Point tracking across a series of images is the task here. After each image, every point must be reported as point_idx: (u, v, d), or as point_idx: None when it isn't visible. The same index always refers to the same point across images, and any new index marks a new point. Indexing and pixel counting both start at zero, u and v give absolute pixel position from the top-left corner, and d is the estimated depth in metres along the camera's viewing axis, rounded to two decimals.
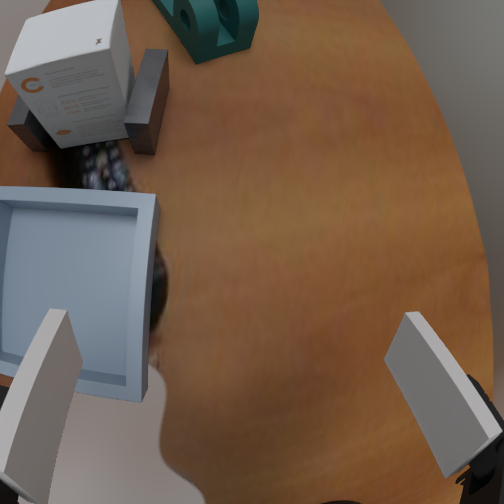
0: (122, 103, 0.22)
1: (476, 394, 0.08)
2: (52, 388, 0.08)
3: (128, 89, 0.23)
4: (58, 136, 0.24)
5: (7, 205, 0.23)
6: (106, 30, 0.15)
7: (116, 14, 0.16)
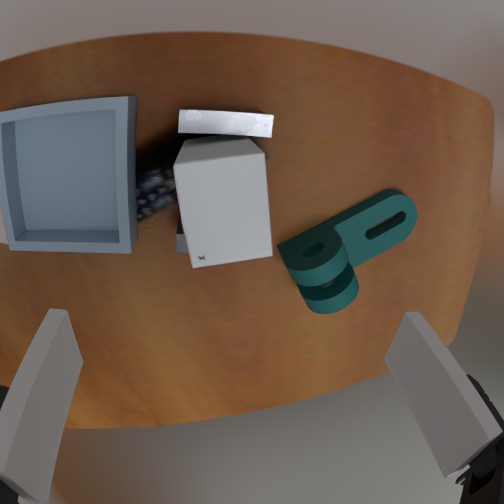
0: None
1: (475, 394, 0.08)
2: (52, 388, 0.08)
3: None
4: None
5: None
6: (216, 261, 0.24)
7: None
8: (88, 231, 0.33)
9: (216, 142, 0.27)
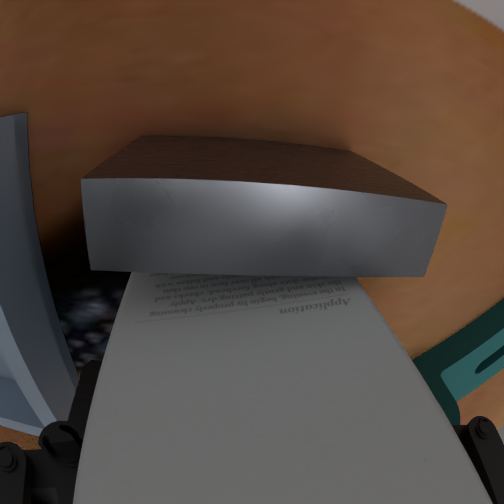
0: None
1: None
2: None
3: None
4: None
5: None
6: None
7: None
8: (0, 379, 0.14)
9: (243, 302, 0.07)
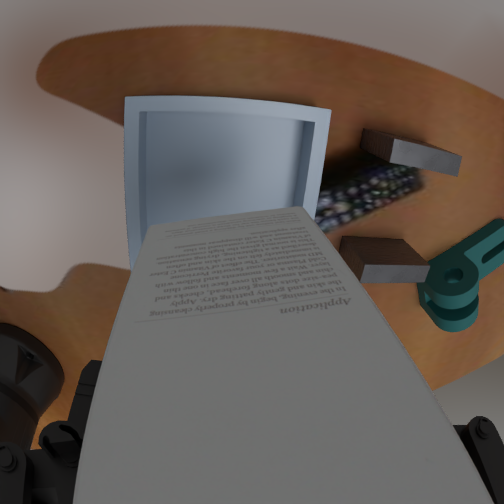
0: None
1: None
2: None
3: None
4: None
5: None
6: None
7: None
8: None
9: (243, 302, 0.07)
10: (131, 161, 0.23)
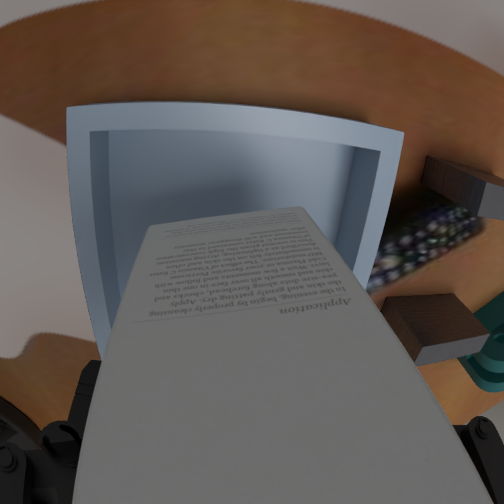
0: None
1: None
2: None
3: None
4: None
5: None
6: None
7: None
8: None
9: (242, 302, 0.07)
10: (83, 214, 0.14)
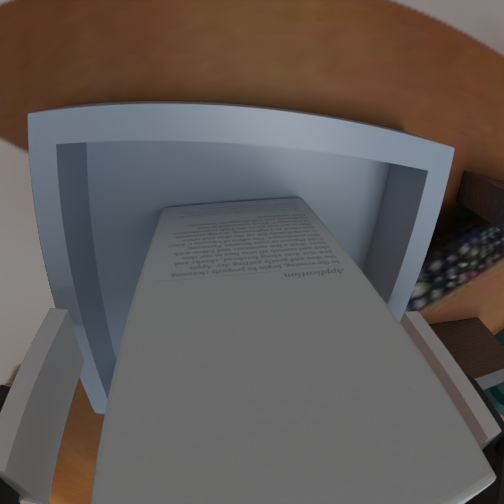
0: None
1: (475, 394, 0.08)
2: (53, 388, 0.08)
3: None
4: None
5: None
6: None
7: None
8: None
9: (252, 268, 0.09)
10: (55, 249, 0.11)
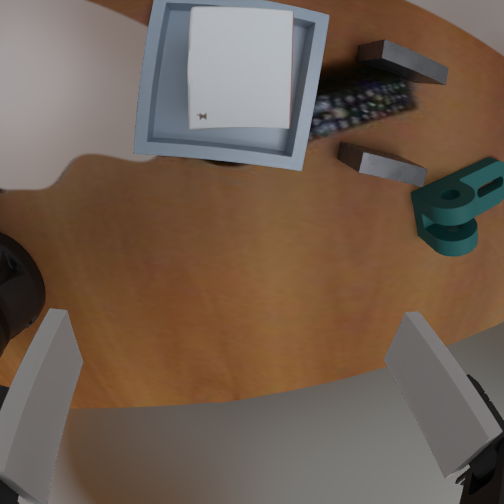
0: None
1: (475, 394, 0.08)
2: (52, 388, 0.08)
3: None
4: None
5: (309, 25, 0.25)
6: (219, 122, 0.18)
7: (253, 127, 0.19)
8: (241, 145, 0.31)
9: None
10: (153, 40, 0.23)
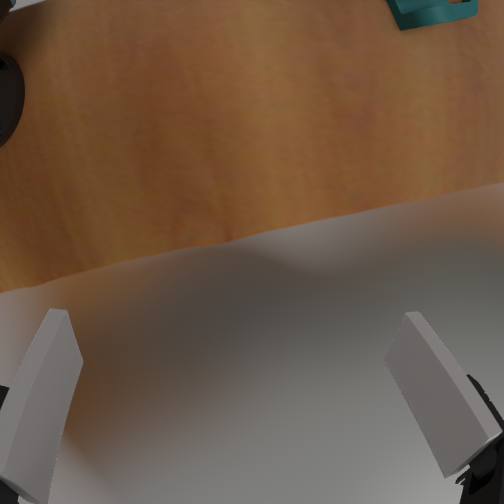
0: None
1: (475, 394, 0.08)
2: (52, 388, 0.08)
3: None
4: None
5: None
6: None
7: None
8: None
9: None
10: None
